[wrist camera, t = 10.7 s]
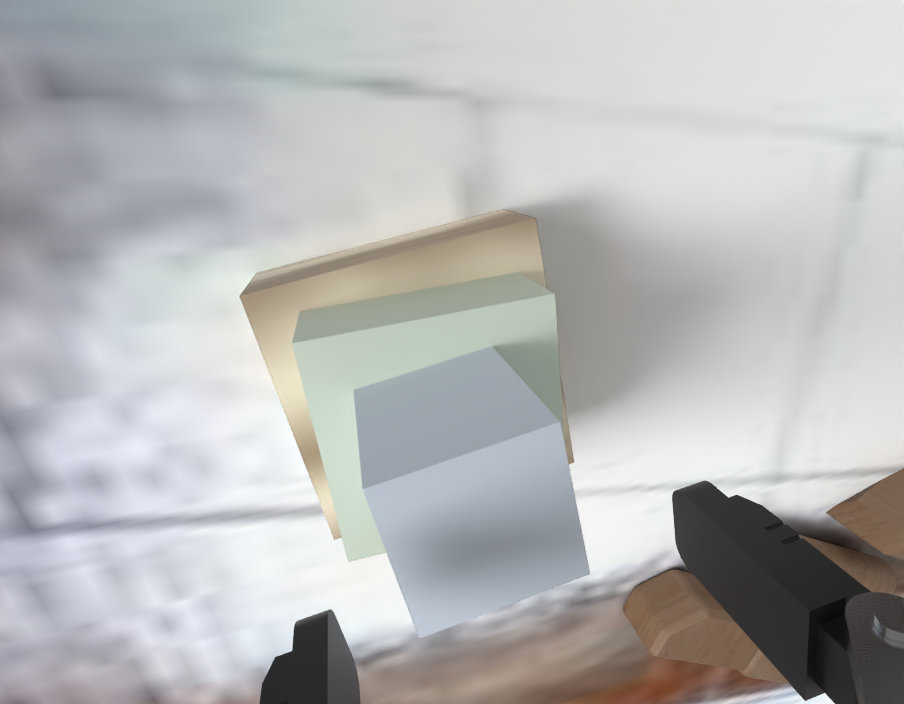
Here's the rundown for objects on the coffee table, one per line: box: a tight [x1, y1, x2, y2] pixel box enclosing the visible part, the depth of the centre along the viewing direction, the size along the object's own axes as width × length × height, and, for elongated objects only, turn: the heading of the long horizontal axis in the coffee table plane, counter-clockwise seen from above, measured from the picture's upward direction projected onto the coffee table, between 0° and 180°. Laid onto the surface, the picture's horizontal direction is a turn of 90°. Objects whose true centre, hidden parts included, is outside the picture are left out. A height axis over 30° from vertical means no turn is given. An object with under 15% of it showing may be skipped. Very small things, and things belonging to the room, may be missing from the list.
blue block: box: [353, 346, 590, 639], centre depth 16 cm, size 5×5×6 cm
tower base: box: [240, 209, 574, 540], centre depth 25 cm, size 12×12×5 cm
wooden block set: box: [622, 469, 904, 684], centre depth 35 cm, size 17×6×18 cm
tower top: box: [292, 272, 565, 562], centre depth 21 cm, size 9×9×4 cm
